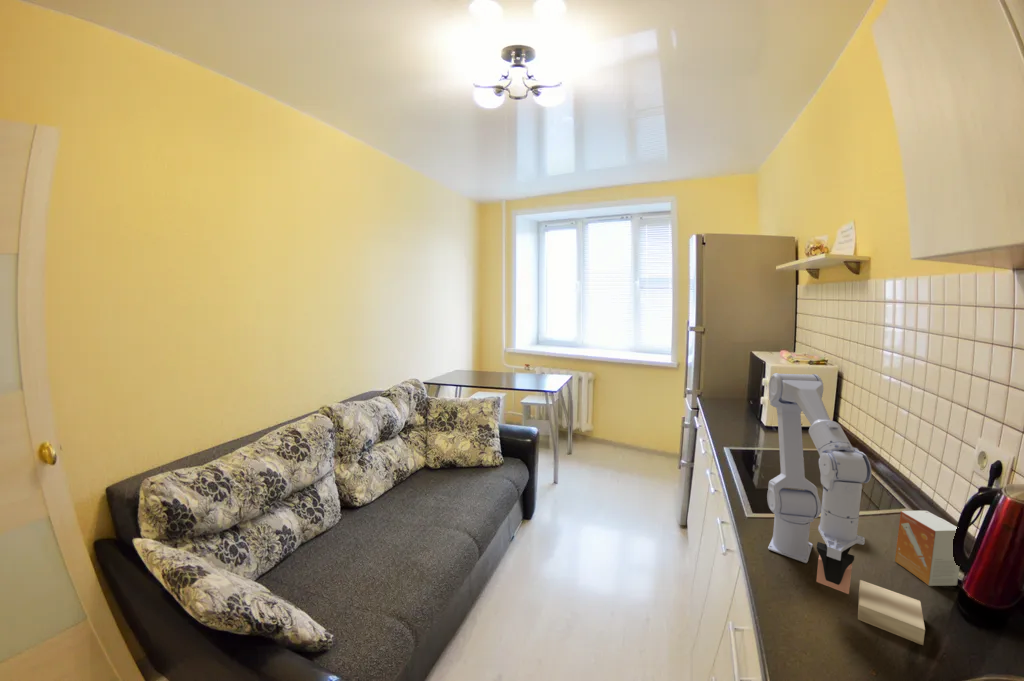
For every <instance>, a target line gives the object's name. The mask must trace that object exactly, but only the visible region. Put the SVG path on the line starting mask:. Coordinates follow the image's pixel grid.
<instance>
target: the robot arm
mask: <svg viewBox="0 0 1024 681" xmlns="http://www.w3.org/2000/svg"><path fill="white" fill-rule="evenodd" d="M824 389H825V388H824V383H823V380H822V377H820V376H819V375H818V374H816V373H812V374H802V373H796V374H795V373H778V372H775V373H773V374H772V375H771V376H770V378H769V380H768V399H769V405H770V406H772V407H774V408H776V414H777V415H776V416H777V427H778V428H777V430H778V431H777V432H778V448H779V463H780V467H779V468H780V473H779V474H778V475H776V476H775V477H773V478H771V479H770V480H769V481H768V486H767V487H768V488H767V489H768V490H767V494H766V498H767V499H766V500H767V501H766V502H767V506H768V508H769V509H770V511H771V512H772V513H773V514H774V521H773V530H772V532H773V533H772V537H771V540H770V543H769V544H768V547H767V549H768V550H769V551H772V552H774V553H776V554H779V555H782V556H785V557H788V558H789V559H793V560H796V561H798V562H802V563H804V564H808V561H809V559H810V555H811V552H812V548H813V543H812V542H810V541H809V540H810V529H811V528H810V527H811V523H814V521H815V520H814V519H817V518H820V520H819V524H818V530H817V531H818V532H819V534H820V537H821V538H822V539H823V542H824V543H822V542H820V541H817V543H816V551H817V553H818V556H819V555H820V557H821V559H822V562H823V568H824V574H825V578H826V580H827V581H829V582H832V583H835V584H837V585H839V584H840V583H841V581H842V578H843V575H844V572H845V570H846V569H847V567H848V566H849V565H850V564H852V565H853V563H854V561H855V555H854V554H850V553H849V552H850V551H851V549H852V547H853V546H854V545H857V544H858V545H865V541H866V540H865V539H866V538H865V537H864V536H861V535H858V529H859V528H858V527H859V520H860V511H861V510H860V507H861V499H862V489H863V484H867V483H870V480H871V478H872V465H871V462H870V460H869V458H868V456H867V454H865V453H864V452H863V451H860V450H859V448H858V447H854V446H853V445H852V444H851V442H850V440H849V438H848V436H847V435H846V433H845V432H844V430H843V428H842V426H841V425H840V424H839V423H838V422H837V421H834V420H831V417H830V415H829V413H828V411H827V408H826V406H825V403H824V401H823V400H822V398H823V395H824V394H823V393H824ZM802 413H803V415H804V417H805V418H806V419H807V421H808V422H809V424H810V426H809V427H808V428H809V429H808V434H809V436H810V438H811V440H812V442H813V444H814V446H815V448H816V450H817V452H818V455H819V458H818V467H819V472H820V484H821V485H822V498H821V499H820V497H819V492H818V491H819V490H818V487H817V486H816V485H815V484H814V483H812V482H811V481H810V480H808V479H807V478H806V477H805V476H806V475H805V474H806V473H805V461H804V460H805V459H804V446H803V445H804V444H803V433H802V432H803V430H802V417H801V414H802ZM819 516H820V517H819Z"/></svg>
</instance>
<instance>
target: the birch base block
mask: <svg viewBox="0 0 1024 681" xmlns="http://www.w3.org/2000/svg"><path fill="white" fill-rule="evenodd" d="M857 604H858V607H857V620H858V621H860V622H861V621H862V622H863V623H865V624H867V625H868V624H869V625H871V626H873V627H877V628H879V629H881V630H884V631H886V632H889V633H891V634H893V635H896V636H898V637H901V638H903V639H906V640H908V641H911V642H914V643H916V644H918V645H922V646H924V643H925V642H924V641H925V634H926V627H925V622H924V620H925V619H924V615H923V609H922V603H921V600H919V599H916V598H913V597H910V596H908V595H905V594H901V593H899V592H896V591H893V590H890V589H887V588H884V587H882V586H879V585H876V584H873V583H871V582H868V581H864V580H862V579H859V588H858V602H857Z"/></svg>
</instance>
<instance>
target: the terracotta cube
mask: <svg viewBox="0 0 1024 681" xmlns="http://www.w3.org/2000/svg"><path fill="white" fill-rule="evenodd" d="M852 570H853V563H852V564H850V565H849V566H848V567H847V569H846V570H845V572H844V575H843V578H842V581H841V583H840V584H839V585H837V584H835V583H832V582H829V581H827V580H826V578H825V574H824V568H823V562H822V559H821V557H820V555H819V554H818V559H817V571H816V583H818V584H821V585H824V586H827V587H829V588H832V589H834V590H836V591H840V592H841V593H844V594H847V595H850V588H851V581H852V580H851V579H852Z"/></svg>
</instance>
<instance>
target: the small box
mask: <svg viewBox="0 0 1024 681" xmlns="http://www.w3.org/2000/svg"><path fill="white" fill-rule="evenodd" d="M898 524H899V525H898V530H897V532H898V533H897V540H896V547H895V548H896V549H895V557H894V562H895V563H896V564H898V565H899V566H901V567H902V568H904V569H905V570H906V571H908V572H909V573H911V574H913V575H914V577H916V578H918V579H919V580H920V581H922V582H924V583H925V584H926V585H927V586H929V587H933V586H935V587H938V586H939V587H941V586H942V587H944V586H945V587H946V586H947V587H949V586H950V587H951V586H952V587H953V586H955V587H956V586H957V585H958V581H959V573H960V572H959V571H960V566H958V565H956V563H955V561H954V557H953V539H954V536H955V533H956V529H957V527H958V526H956V525H955V524H952V523H951V522H949V521H947V520H946V519H944V518H941V517H939V516H938V515H936V514H934V513H932V512H930V511H928V510H901V511H900V516H899V523H898Z"/></svg>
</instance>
